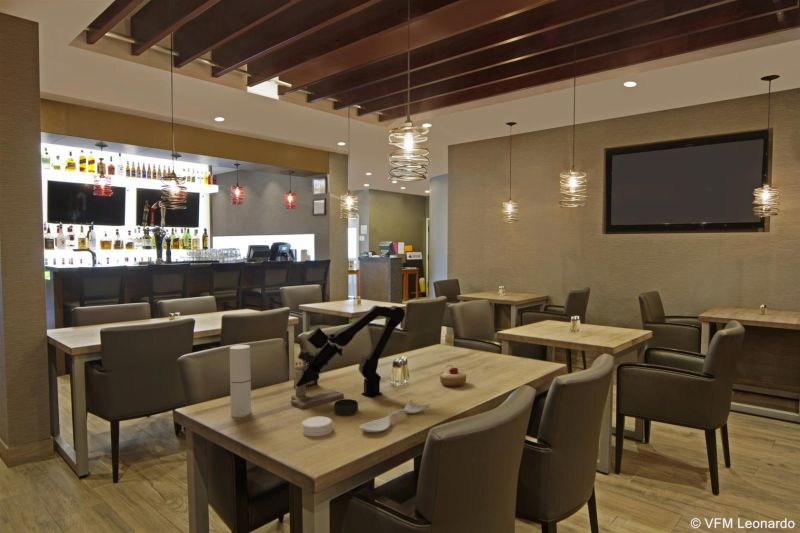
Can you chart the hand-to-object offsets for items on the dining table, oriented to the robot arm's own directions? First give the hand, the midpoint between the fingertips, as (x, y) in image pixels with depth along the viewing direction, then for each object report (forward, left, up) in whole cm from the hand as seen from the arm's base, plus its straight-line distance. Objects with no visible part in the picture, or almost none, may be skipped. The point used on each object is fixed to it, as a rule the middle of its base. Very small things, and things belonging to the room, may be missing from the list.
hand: (297, 384), depth 191 cm
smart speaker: (-25, -5, -7) cm, 26 cm away
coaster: (-32, +13, -7) cm, 35 cm away
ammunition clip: (+13, -13, -7) cm, 20 cm away
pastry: (-31, -61, -7) cm, 69 cm away
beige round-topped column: (-1, -1, -6) cm, 6 cm away
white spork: (-44, -11, -7) cm, 46 cm away
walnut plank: (-7, -5, -7) cm, 11 cm away
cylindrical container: (+2, +23, -7) cm, 24 cm away
